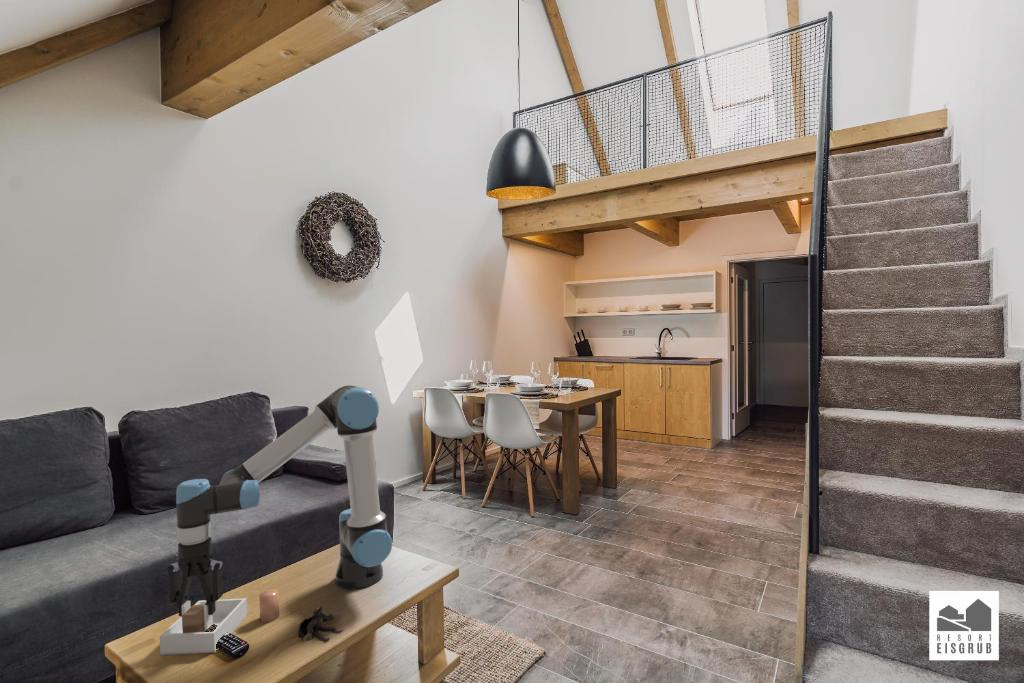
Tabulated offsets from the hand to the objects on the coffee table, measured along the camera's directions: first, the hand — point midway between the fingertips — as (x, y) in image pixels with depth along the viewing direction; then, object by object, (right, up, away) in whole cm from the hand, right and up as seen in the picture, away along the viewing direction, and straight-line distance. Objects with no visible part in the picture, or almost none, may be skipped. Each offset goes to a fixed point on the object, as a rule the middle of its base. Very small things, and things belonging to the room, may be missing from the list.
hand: (197, 626), depth 136 cm
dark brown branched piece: (+30, -4, +5) cm, 31 cm away
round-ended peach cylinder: (+14, -4, +12) cm, 18 cm away
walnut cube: (0, 0, 0) cm, 0 cm away
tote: (0, -4, +4) cm, 6 cm away
